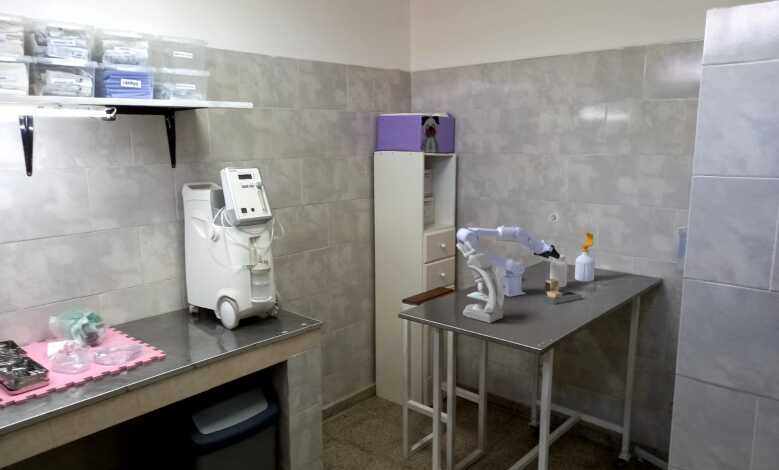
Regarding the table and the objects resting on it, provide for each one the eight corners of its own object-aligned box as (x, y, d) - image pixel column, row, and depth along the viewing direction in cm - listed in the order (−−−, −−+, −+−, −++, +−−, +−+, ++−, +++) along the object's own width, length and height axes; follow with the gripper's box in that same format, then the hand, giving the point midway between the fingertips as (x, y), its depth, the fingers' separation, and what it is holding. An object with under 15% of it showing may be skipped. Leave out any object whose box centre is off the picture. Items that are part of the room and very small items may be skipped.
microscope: (469, 308, 238) (469, 239, 232) (506, 318, 224) (507, 245, 219) (453, 314, 230) (453, 243, 225) (490, 324, 217) (491, 249, 212)
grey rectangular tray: (553, 304, 241) (553, 299, 240) (543, 300, 247) (543, 295, 246) (581, 299, 248) (581, 294, 247) (570, 295, 254) (570, 290, 253)
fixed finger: (554, 301, 242) (555, 294, 242) (547, 298, 246) (547, 291, 246) (562, 299, 244) (562, 293, 244) (554, 296, 248) (555, 290, 248)
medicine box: (511, 280, 283) (512, 263, 281) (512, 282, 278) (513, 265, 277) (496, 279, 284) (496, 263, 282) (496, 282, 279) (497, 265, 278)
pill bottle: (568, 287, 266) (569, 257, 264) (552, 287, 267) (552, 257, 264) (564, 283, 274) (565, 253, 272) (547, 283, 275) (548, 253, 272)
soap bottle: (571, 278, 283) (572, 231, 278) (584, 276, 286) (586, 229, 282) (583, 282, 274) (585, 233, 270) (597, 280, 278) (600, 232, 274)
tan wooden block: (549, 294, 256) (550, 281, 255) (544, 292, 259) (544, 280, 258) (558, 292, 258) (559, 280, 257) (553, 291, 261) (553, 278, 260)
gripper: (545, 235, 251) (567, 249, 255) (526, 235, 265) (547, 249, 269) (539, 249, 250) (561, 263, 254) (520, 248, 264) (541, 261, 268)
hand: (553, 256), depth 262 cm, fingers open, 7 cm apart
